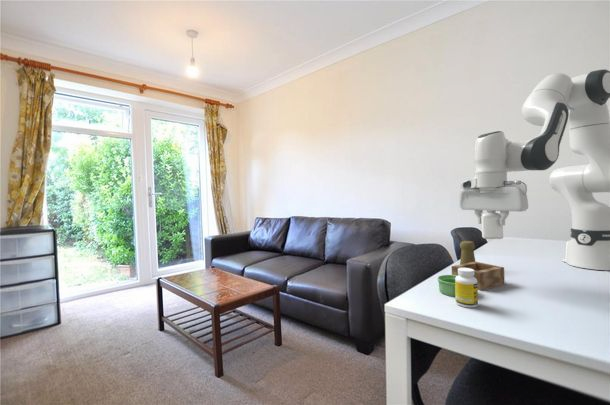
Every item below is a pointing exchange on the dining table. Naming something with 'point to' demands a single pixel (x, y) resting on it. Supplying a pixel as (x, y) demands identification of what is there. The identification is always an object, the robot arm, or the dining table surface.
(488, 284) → the walnut holder
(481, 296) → the dining table surface
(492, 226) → the eye dropper bottle
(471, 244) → the cork
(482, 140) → the robot arm
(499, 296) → the dining table surface
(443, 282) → the ramekin
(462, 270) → the supplement bottle
